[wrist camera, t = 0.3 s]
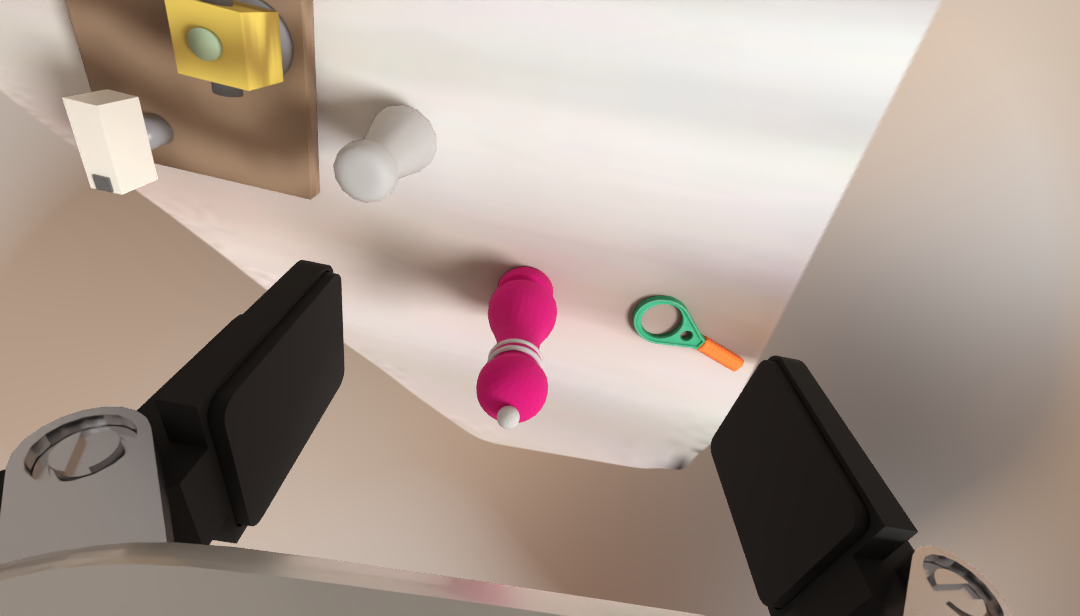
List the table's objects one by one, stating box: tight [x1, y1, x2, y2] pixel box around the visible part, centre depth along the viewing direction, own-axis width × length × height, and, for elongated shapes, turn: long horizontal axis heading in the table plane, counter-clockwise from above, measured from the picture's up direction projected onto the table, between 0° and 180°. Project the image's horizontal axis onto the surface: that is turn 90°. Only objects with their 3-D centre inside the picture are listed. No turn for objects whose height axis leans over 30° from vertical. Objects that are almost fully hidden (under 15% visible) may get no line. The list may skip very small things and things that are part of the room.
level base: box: [65, 0, 320, 199], centre depth 35 cm, size 26×19×9 cm
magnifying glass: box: [633, 296, 744, 371], centre depth 54 cm, size 15×6×2 cm, turn 59°
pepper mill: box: [476, 267, 557, 429], centre depth 43 cm, size 7×7×20 cm
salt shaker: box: [333, 105, 436, 203], centre depth 37 cm, size 6×6×13 cm
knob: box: [62, 89, 174, 195], centre depth 38 cm, size 7×3×7 cm, turn 167°
